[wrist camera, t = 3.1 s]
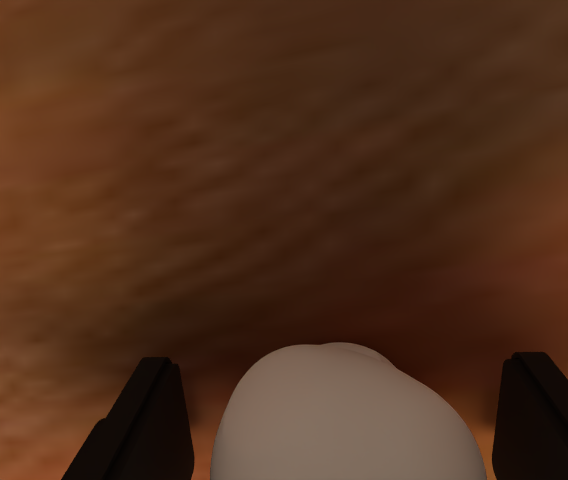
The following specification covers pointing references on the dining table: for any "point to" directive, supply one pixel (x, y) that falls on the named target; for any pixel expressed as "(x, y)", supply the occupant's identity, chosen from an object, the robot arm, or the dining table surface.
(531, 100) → the dining table surface
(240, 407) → the white ball
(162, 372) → the robot arm
